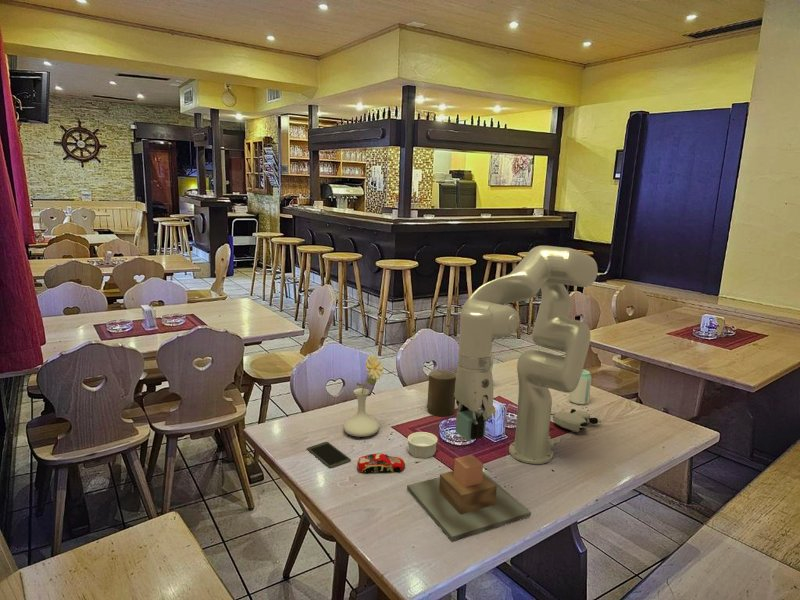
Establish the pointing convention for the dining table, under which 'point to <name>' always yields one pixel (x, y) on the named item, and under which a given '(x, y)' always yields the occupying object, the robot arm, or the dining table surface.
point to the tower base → (468, 519)
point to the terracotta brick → (468, 470)
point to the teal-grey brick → (465, 424)
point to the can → (582, 389)
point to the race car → (380, 464)
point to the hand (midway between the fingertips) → (470, 432)
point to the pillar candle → (441, 393)
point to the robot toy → (574, 420)
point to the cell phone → (329, 455)
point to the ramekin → (422, 444)
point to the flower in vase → (362, 421)
